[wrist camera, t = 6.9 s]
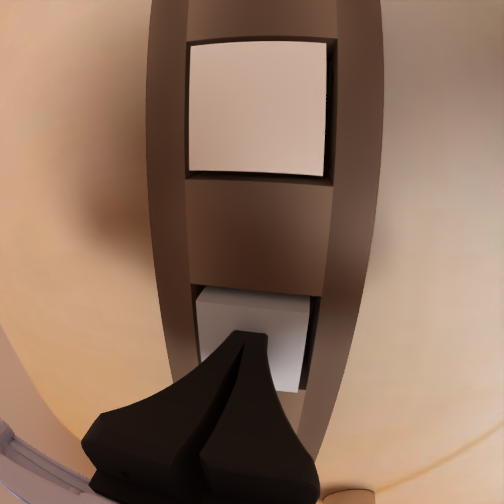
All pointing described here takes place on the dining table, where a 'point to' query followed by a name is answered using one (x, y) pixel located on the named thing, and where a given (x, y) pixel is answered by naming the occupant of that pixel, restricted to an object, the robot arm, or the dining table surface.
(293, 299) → the light gray cube
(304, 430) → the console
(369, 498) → the candle
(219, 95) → the beige cube
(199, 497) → the robot arm
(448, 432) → the dining table surface
